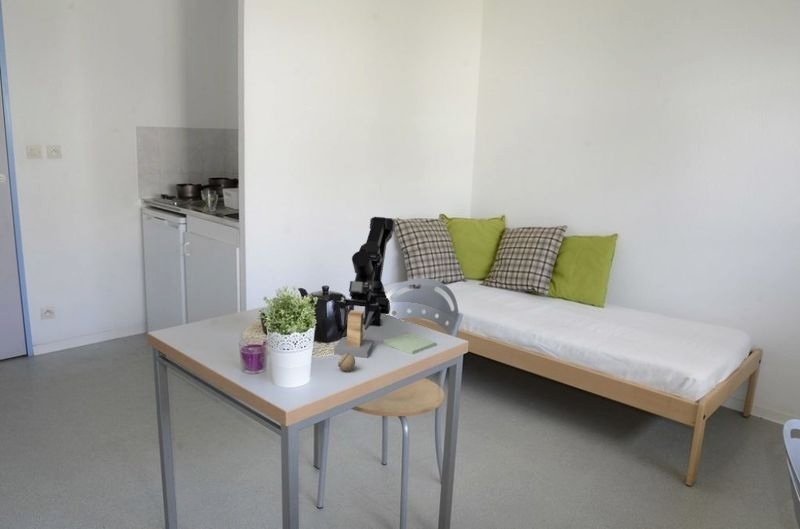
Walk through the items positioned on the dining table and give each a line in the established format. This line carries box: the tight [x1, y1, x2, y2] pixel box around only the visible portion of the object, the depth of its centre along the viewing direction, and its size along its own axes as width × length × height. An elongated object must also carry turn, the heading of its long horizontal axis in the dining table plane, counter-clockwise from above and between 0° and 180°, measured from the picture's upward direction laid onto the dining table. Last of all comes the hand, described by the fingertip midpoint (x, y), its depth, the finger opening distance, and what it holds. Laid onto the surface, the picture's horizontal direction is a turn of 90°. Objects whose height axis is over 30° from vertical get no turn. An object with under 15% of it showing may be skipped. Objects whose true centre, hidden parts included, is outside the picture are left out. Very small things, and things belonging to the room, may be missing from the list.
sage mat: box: [382, 332, 437, 355], centre depth 193 cm, size 12×12×1 cm
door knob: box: [337, 353, 356, 372], centre depth 169 cm, size 5×5×5 cm
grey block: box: [333, 336, 375, 359], centre depth 185 cm, size 10×10×2 cm
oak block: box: [346, 309, 365, 347], centre depth 184 cm, size 4×4×10 cm
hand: (354, 327), depth 182 cm, fingers open, 7 cm apart
